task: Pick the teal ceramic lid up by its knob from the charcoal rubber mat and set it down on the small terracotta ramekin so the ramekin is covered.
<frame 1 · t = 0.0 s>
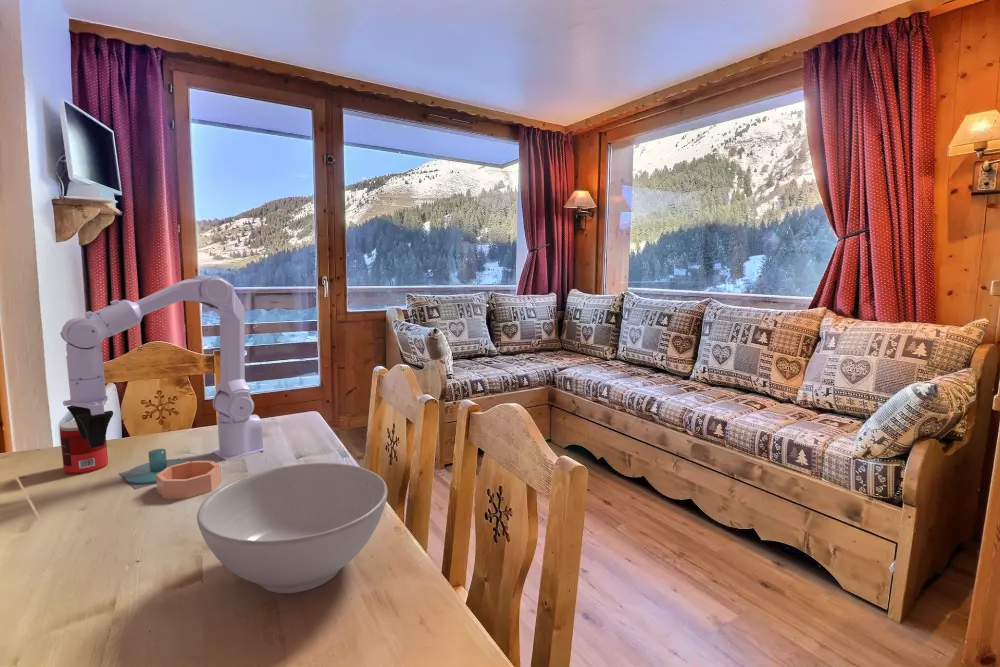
hand: (92, 441, 107), 10 cm above the table, tool pointing down, fingers open, 7 cm apart
mat: (158, 474, 116), on the table
ramekin: (190, 488, 109), on the table
lid: (158, 472, 116), resting on mat
decorative bowl: (300, 570, 81), on the table
canned food: (86, 470, 118), on the table
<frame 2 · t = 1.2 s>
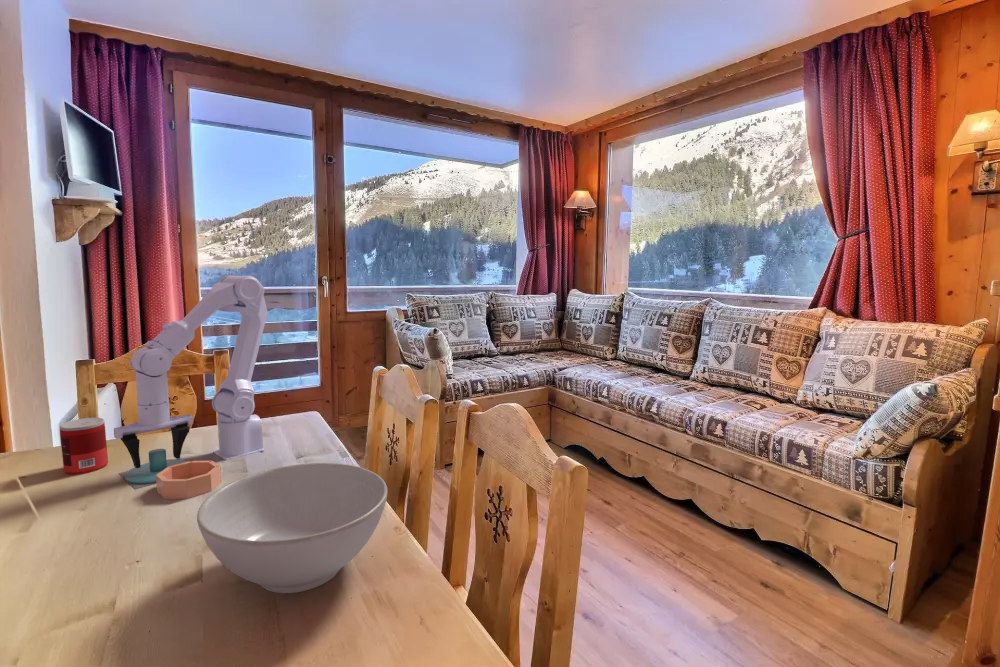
hand: (157, 462, 115), 3 cm above the table, tool pointing down, fingers open, 7 cm apart
nothing on the table moved.
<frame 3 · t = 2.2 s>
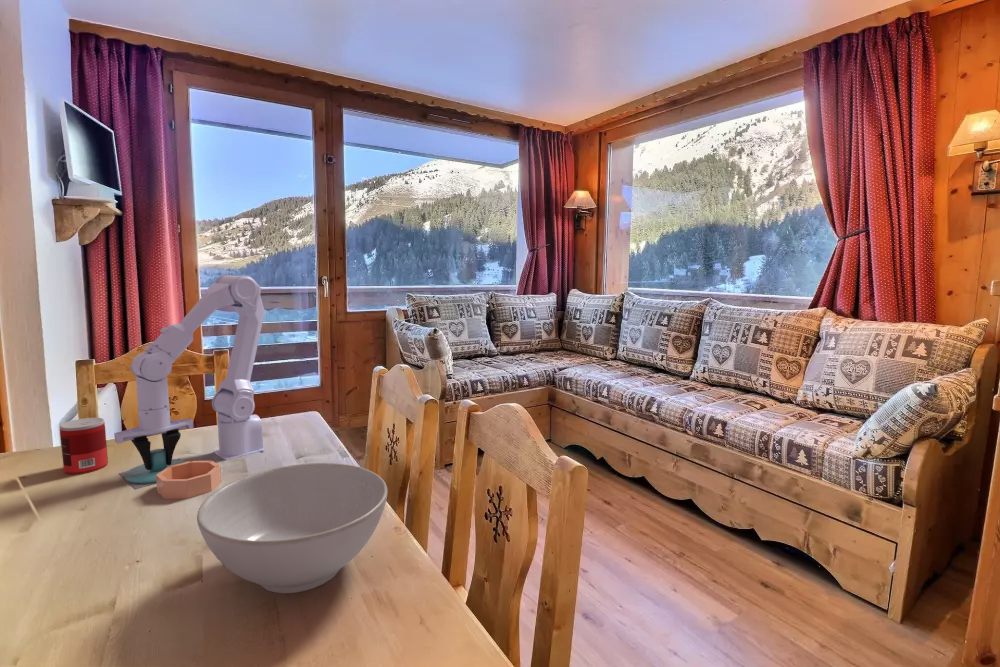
hand: (158, 466, 116), 2 cm above the table, tool pointing down, fingers closed on lid, 3 cm apart
lid: (158, 472, 116), resting on mat, touching gripper
everything else where it was.
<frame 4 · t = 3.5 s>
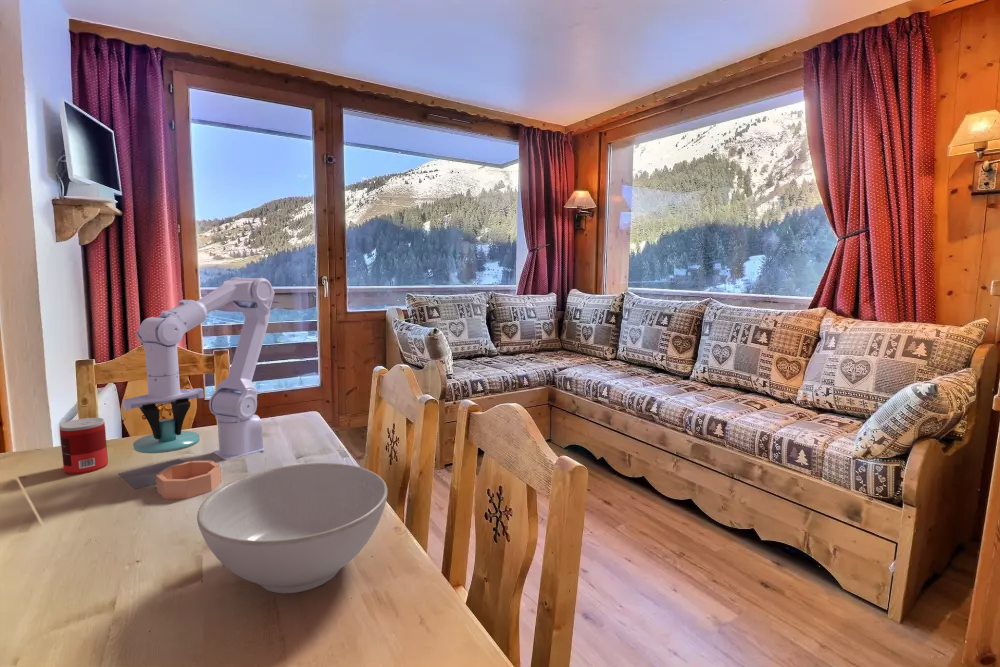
hand: (167, 435, 112), 10 cm above the table, tool pointing down, fingers closed on lid, 3 cm apart
lid: (167, 443, 112), point 8 cm above the table, touching gripper
everything else where it was.
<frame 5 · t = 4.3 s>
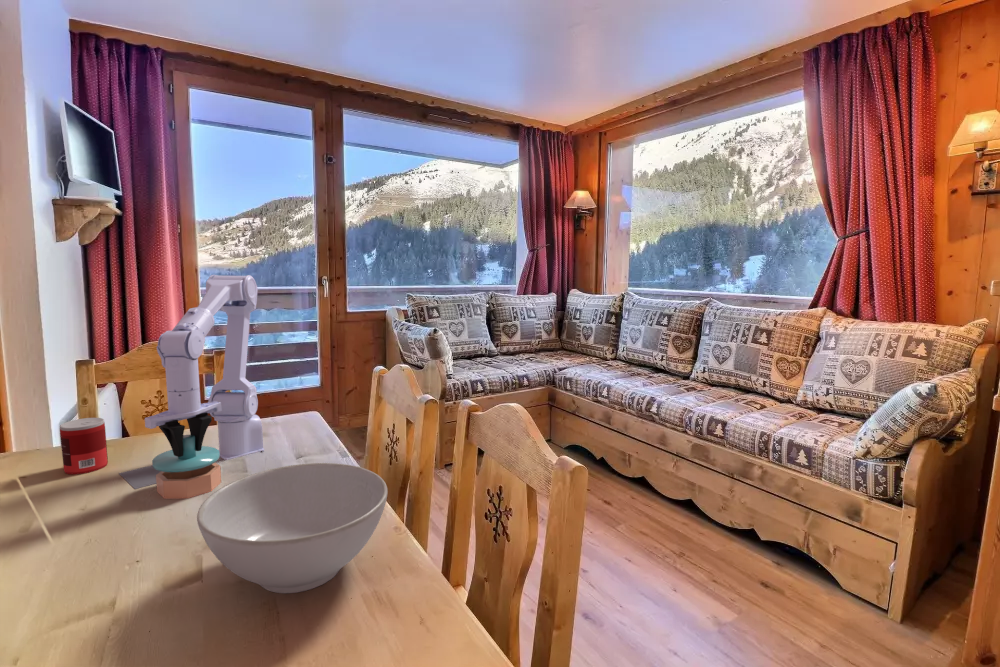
hand: (187, 452, 108), 8 cm above the table, tool pointing down, fingers closed on lid, 3 cm apart
lid: (186, 460, 108), point 6 cm above the table, touching gripper
everything else where it was.
when the fingers open (7 cm above the table, at t = 4.8 s): lid stays where it is, resting on ramekin.
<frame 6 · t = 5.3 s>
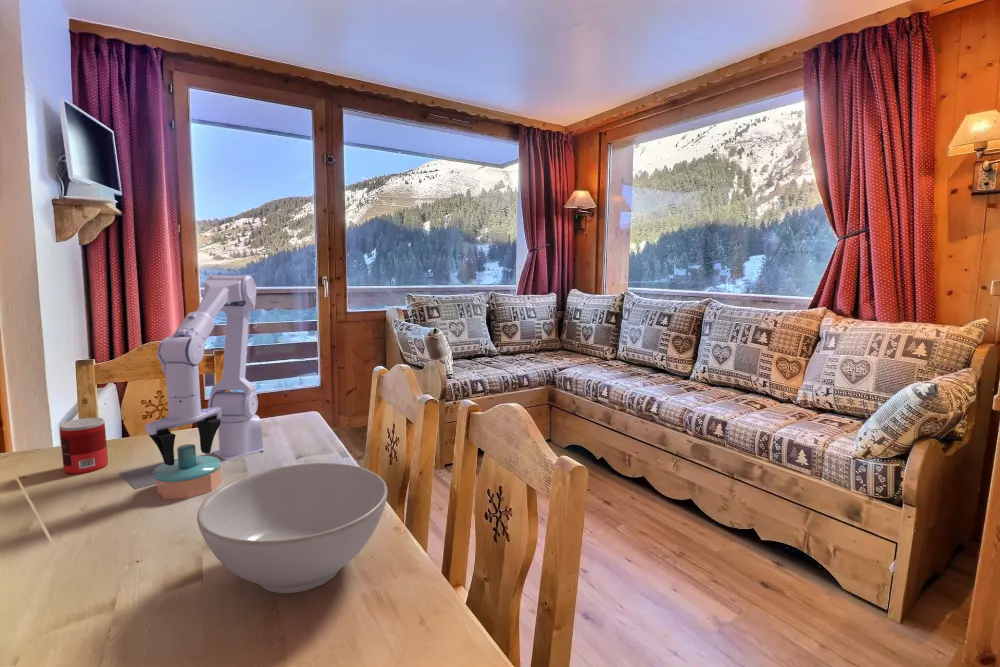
hand: (188, 458, 108), 7 cm above the table, tool pointing down, fingers open, 7 cm apart
lid: (187, 469, 109), point 4 cm above the table, touching ramekin
everything else where it was.
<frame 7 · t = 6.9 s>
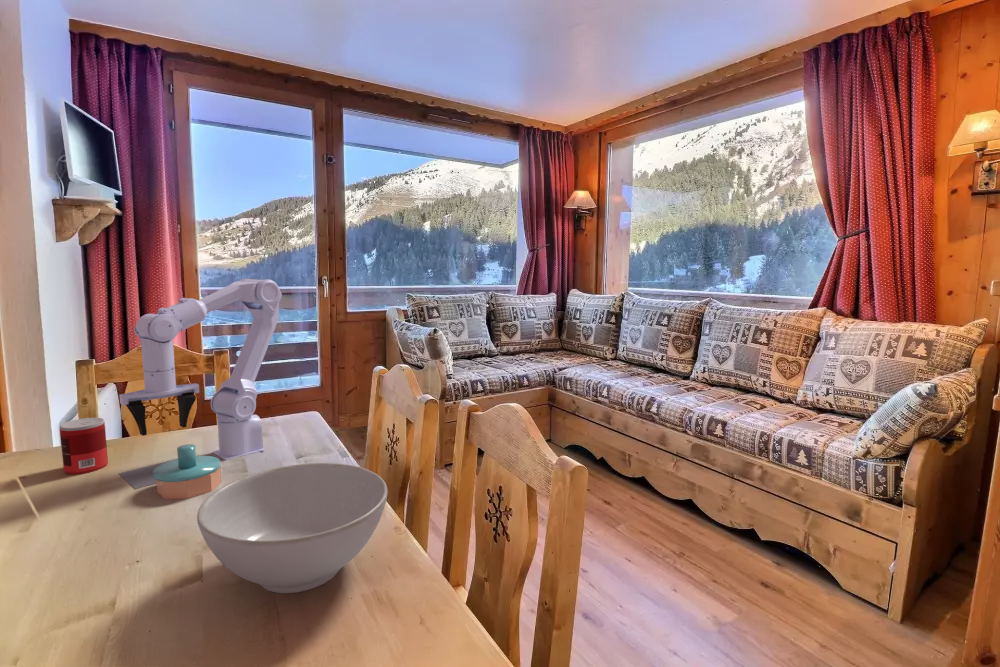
hand: (163, 430, 114), 10 cm above the table, tool pointing down, fingers open, 7 cm apart
nothing on the table moved.
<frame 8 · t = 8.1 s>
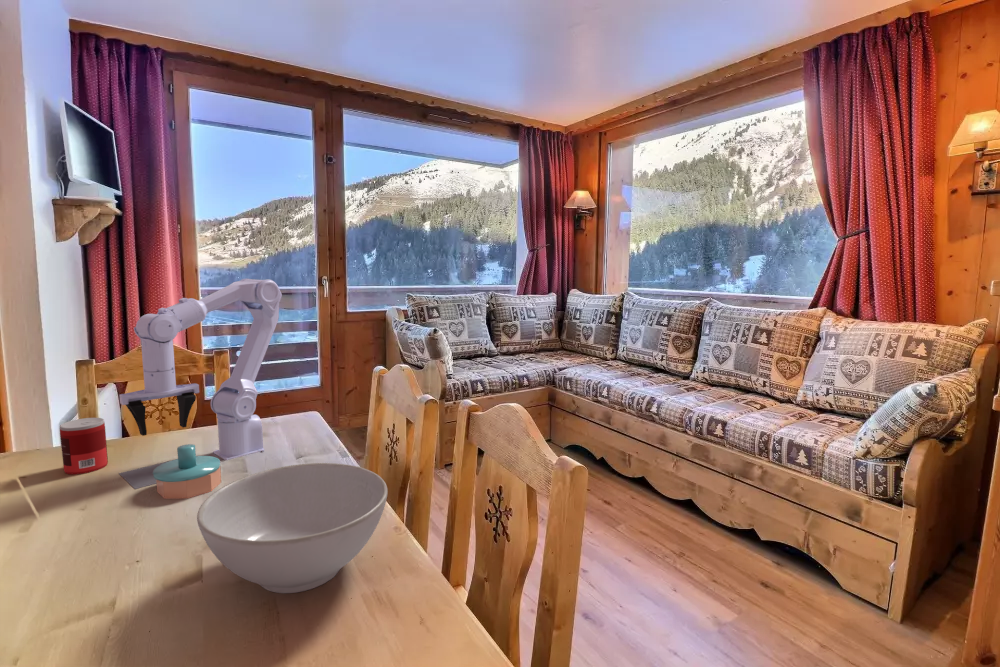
hand: (163, 430, 114), 10 cm above the table, tool pointing down, fingers open, 7 cm apart
nothing on the table moved.
at the end: lid 0.4 cm off-centre on the ramekin, point 4.0 cm above the ramekin's base; lid tilted 0°; the gripper is holding nothing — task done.
